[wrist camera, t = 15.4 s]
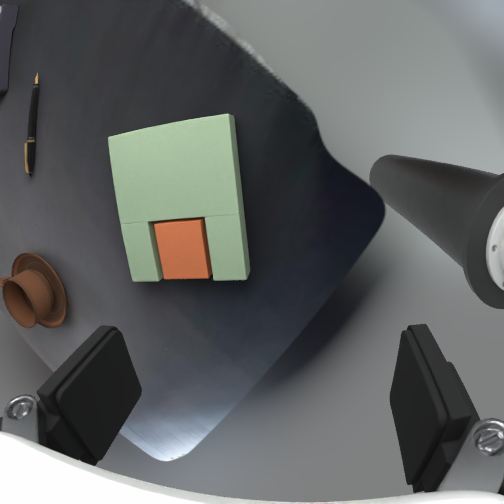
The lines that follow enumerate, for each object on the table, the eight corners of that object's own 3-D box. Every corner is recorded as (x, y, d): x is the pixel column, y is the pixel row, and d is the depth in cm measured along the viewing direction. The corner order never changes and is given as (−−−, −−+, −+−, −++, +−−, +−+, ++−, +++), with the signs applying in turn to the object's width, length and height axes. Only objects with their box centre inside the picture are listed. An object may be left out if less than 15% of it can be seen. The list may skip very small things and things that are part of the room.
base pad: (234, 115, 29) (228, 113, 27) (250, 270, 34) (246, 279, 32) (119, 136, 31) (107, 137, 29) (141, 273, 36) (132, 281, 34)
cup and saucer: (29, 314, 43) (6, 331, 37) (13, 245, 39) (-14, 259, 33) (80, 329, 41) (57, 351, 36) (65, 252, 38) (35, 269, 32)
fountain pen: (38, 73, 30) (30, 72, 28) (43, 71, 30) (36, 70, 28) (31, 176, 35) (23, 178, 33) (36, 176, 35) (28, 178, 33)
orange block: (207, 214, 33) (200, 220, 31) (215, 269, 35) (208, 278, 32) (163, 218, 34) (153, 224, 31) (172, 270, 36) (164, 279, 33)
